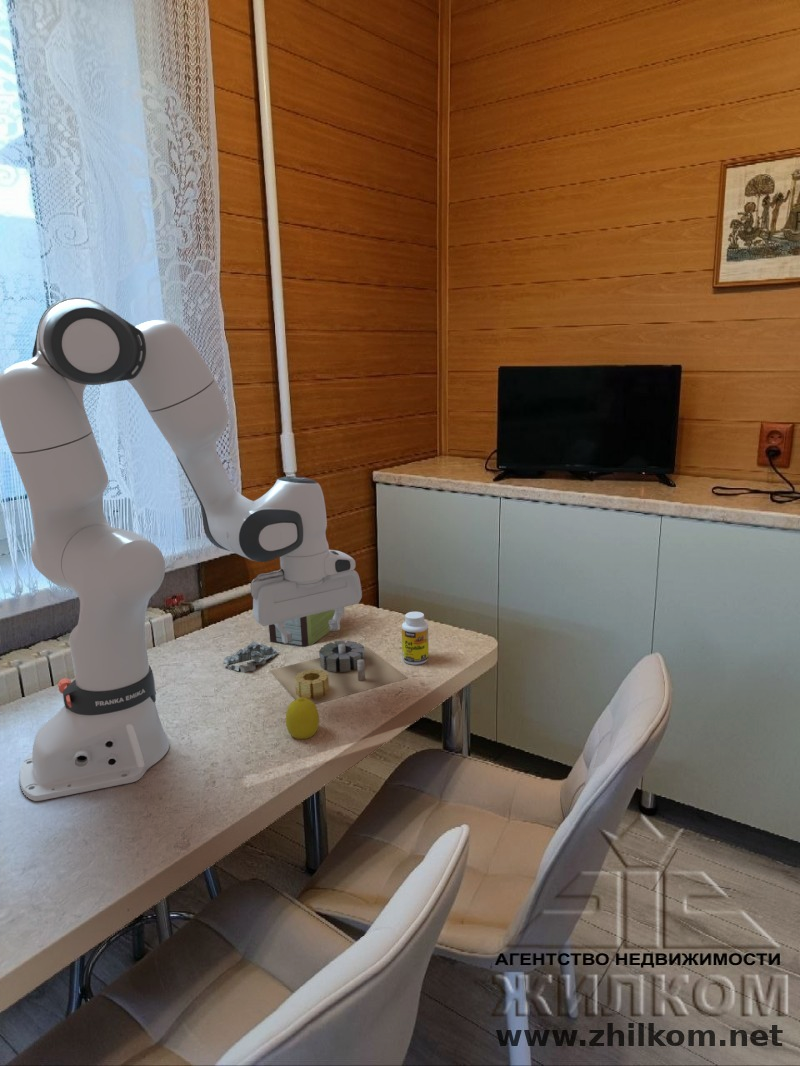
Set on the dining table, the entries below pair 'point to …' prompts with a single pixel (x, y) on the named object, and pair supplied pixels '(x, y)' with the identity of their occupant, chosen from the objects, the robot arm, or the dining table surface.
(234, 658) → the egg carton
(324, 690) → the brass gear
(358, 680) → the gear board
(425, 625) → the supplement bottle
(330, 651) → the grey gear
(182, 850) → the dining table surface
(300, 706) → the lemon
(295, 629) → the protein box
